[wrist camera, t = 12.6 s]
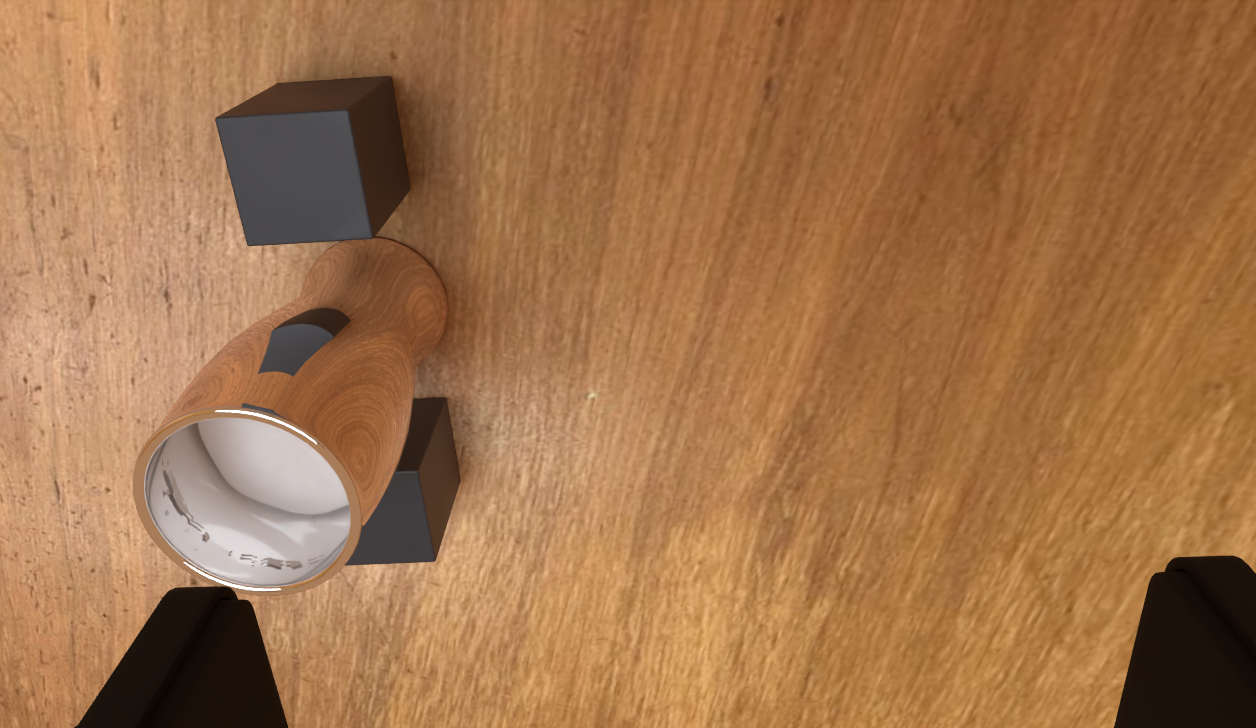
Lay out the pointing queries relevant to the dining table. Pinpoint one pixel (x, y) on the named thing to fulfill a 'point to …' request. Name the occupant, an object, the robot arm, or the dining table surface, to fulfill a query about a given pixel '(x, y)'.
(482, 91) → the dining table surface
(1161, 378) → the dining table surface
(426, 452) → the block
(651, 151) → the dining table surface
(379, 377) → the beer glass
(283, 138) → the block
